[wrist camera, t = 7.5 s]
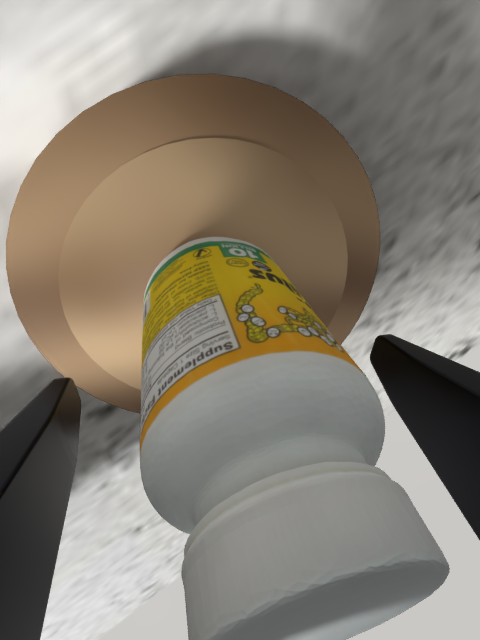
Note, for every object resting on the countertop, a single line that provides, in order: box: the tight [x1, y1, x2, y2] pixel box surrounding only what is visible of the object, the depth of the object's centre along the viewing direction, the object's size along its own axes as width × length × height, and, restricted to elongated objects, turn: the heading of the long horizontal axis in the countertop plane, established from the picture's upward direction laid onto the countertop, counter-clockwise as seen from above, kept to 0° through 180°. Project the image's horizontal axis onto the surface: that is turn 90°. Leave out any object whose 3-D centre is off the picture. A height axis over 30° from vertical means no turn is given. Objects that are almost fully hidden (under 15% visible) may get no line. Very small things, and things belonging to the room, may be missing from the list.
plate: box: [6, 74, 380, 413], centre depth 13 cm, size 14×14×3 cm
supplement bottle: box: [140, 237, 449, 640], centre depth 8 cm, size 5×5×10 cm
